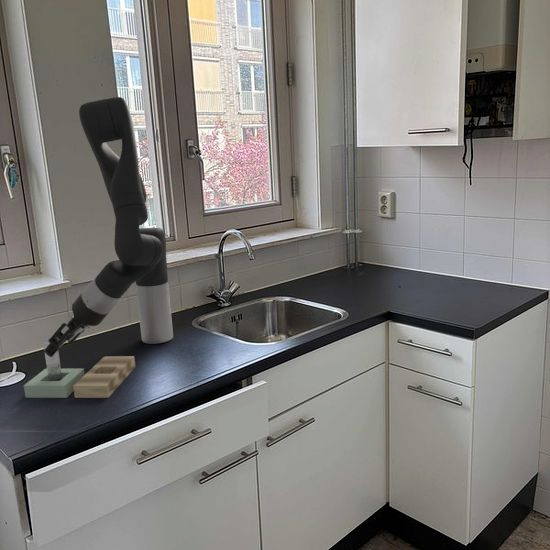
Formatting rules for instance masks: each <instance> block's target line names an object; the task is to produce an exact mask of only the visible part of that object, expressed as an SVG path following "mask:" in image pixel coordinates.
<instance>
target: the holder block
mask: <svg viewBox="0 0 550 550" xmlns="http://www.w3.org/2000/svg"><path fill="white" fill-rule="evenodd" d="M61 373H62V380H60V381H49V378H48V372H47V368H44V369H43V370H42V371H41V372H39V373H38V374H37V375H35V376H33V378H31V379H30V380H29V381H27V382H26V383H24V384H23V389H24V390H23V391H24V396H25V398H26V399H27V398H29V399H34V398H35V399H36V398H37V399H39V398H40V399H41V398H42V399H43V398H45V399H47V398H50V399H56V398H58V399H59V398H60V399H62V398H63V399H64V398H65V399H66V398H68V397H69V396H70V395H71V394H72V393H74V387H73V385H74V384H76V383H77V382H78V381H79V380H80V379H81V378H82V377H83V376H84V375H85V374H86V373H85V368H61Z"/></svg>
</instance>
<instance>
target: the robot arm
mask: <svg viewBox="0 0 550 550" xmlns="http://www.w3.org/2000/svg"><path fill="white" fill-rule="evenodd" d="M78 114H79V121H80V124H81V127H82V130H83V133H84V134H85V137H86V140H87V141H88V143H89V147H90V149H91V151H92V153H93V155H94V157H95V159H96V162H97V165H98V167H99V170H100V172H101V176H102V178H103V181H104V185H105V188H106V192H107V193H108V197H109V200H110V201H111V204H112V208H113V213H114V217H115V224H114V225H115V226H114V251H115V254H116V257H117V258H118V259H117V260H112V261H110V262H108V263H107V264H106V265H104V267H103V268H102V269H101V271H99V273H98V274H97V275H96V276H95V278H94V279H93V280H92V281H91V282H90V283H88V284H87V286H86V287H85V288H84V290H82V292H81V293H80V294H79V296H78V297H77V298H76V299H75V300H74V302H73V303H72V304H71V311H72V314H73V316H72V315H71V316H70V317H69V318H67V320H66V322H63V323H61V325H60V326H59V327H58V329H57V330H56V331H55V332H54V333H53V335H51V337H50V338H48V339H47V340H48V342H49V343H50V344H49V345H48V346H47V348H46V349H45V350H44V349H43V352H44V354H45V353H46V354H47V355H48V356H49V357H52V356H53V355H54V354H55V353H56V352H57V351H58V352H59V349H60V348H62V347H63V345H64V344H65V343H66V342H68V343H69V344H73V343H74V342H75V341H76V340H77V339H78V338H79V337H80V335H81V334H84V332H85V331H87V330H88V329H89V328H91V327H96V326H99V325H100V324H101V323H102V322H103V321H104V319H105V318H106V317H107V316H108V315H109V314H110V313H111V311H112V310H113V309H114V308H115V306H116V305H117V304H118V302H119V300H120V299H121V298H122V297H123V296H124V294H126V292H127V291H128V290H129V288H131V286H132V285H133V284H134V283H135V289H136V296H137V297H136V298H137V305H138V306H137V307H138V317H139V318H138V319H139V326H140V336H141V341H142V343H145V344H150V345H151V344H152V345H155V344H162V343H166V342H169V341H171V340H172V339H174V332H173V330H174V329H173V321H172V320H173V319H172V310H171V298H170V287H169V279H168V278H169V277H168V263H167V262H168V261H167V241H166V240H167V239H166V234H165V231H164V229H163V228H161V227H142V228H141V227H140V226H142V225H143V224H145V223H146V222H147V221H148V219H149V212H148V209H147V204H146V203H147V190H146V188H145V184H144V180H143V177H142V175H141V173H140V168H139V167H140V166H139V155H138V148H137V139H136V133H135V125H134V121H133V116H132V112H131V110H130V107H129V105H128V103H127V101H126V100H125V99H124V97H121V96H117V97H116V96H115V97H111V98H105V99H99V100H94V101H90V102H89V101H88V102H86V103H83V104H81V105H80V107H79V111H78ZM119 140H121V154H120V156H119V155H117V154H116V153H115V152H114V151H113V150H112V149H111V148H110V147H109V145H108V144H107V143H109V142H115V141H119Z"/></svg>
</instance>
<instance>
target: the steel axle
mask: <svg viewBox="0 0 550 550" xmlns="http://www.w3.org/2000/svg"><path fill="white" fill-rule="evenodd" d="M48 340H49V339H46V340H44V341H43V342H42V345H43V351H44V350H45V349H46V348H47V346H48V345H49V344H50V343H49V342H48ZM59 353H60V352H59V350H58V351H57V352H56V353H55V354H54V355H53V356H52V357H49V356H48V355H47V354H46V353H45V352H44V358H45V363H46V369H47V372H48V378H49V381H60V380H62V373H61V369H62V368H61V360H60V354H59Z"/></svg>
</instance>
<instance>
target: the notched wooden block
mask: <svg viewBox="0 0 550 550" xmlns="http://www.w3.org/2000/svg"><path fill="white" fill-rule="evenodd" d="M135 360H136V359H135V356H134V355H131V356H130V355H129V356H127V355H125V356H124V355H120V356H119V355H118V356H117V355H116V356H113V355H112V356H109V355H108V356H105V355H104V356H103V357H102V358H101V359H100V360H99V361H98V362H97V363H95V365H93V366H92V368H90V369H89V370H88V371H87V372H86V373H85V375H84V376H83V377H82V378H81V379H80V380H79V381H78V382H77V383H76V384H74V385H73V387H74V391H73V393H74V398H76V399H81V398H84V399H88V398H89V399H90V398H92V399H95V398H96V399H97V398H99V399H109V398H110V396H111V395H112V394H113V393H114V392H115V391H116V390H117V388H119V386H120V385H121V384H122V383H123V382H124V381H125V380H126V378H127V377H128V376H129V375H130V374H131V373H132V372H133V370H134V369H135V368H136V361H135Z"/></svg>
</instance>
